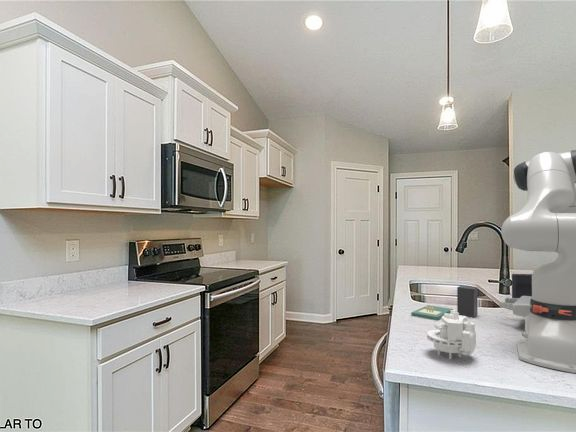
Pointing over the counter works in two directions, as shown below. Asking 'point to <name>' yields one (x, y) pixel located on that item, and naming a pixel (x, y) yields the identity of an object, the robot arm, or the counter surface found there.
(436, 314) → the header board
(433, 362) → the counter surface
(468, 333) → the mechanical part
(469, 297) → the plug housing
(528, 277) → the calculator
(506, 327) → the counter surface
